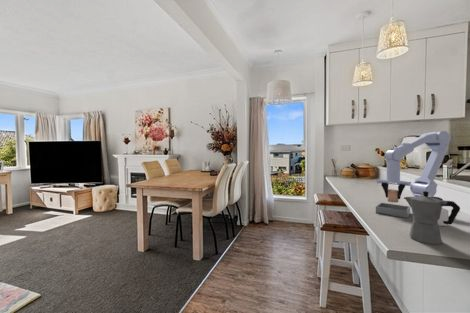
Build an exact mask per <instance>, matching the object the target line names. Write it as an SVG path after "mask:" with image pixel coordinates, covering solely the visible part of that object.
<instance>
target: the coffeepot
mask: <svg viewBox="0 0 470 313" xmlns="http://www.w3.org/2000/svg"><path fill="white" fill-rule="evenodd" d="M423 194H424V196H419V197H414V196H405V197H403V199H404V200H405V201H406V202H407V203H408V205H409V207H410V209H411V213H412V216H413V220H412V223H411V228H410V231H409V237H410V238H411V239H412V240H414V241H416V242H419V243H423V244H428V245H436V246H437V245H441V244H443V239H442V235H441V230H440V226H439V225H438V219H439V218H440V214H441V209H442V208H443V207H451V208H452V209H451V211H450V214H449V215H448V221H443V223H444V224H448V225H452V224H453V223H454V222H455V220H456V218H457V216H458V214H459V212H460V210H461V207H460V206H459V205H458V204H457V203H456V202H455V201H453V200H445V199H444V200H439V199H435V198H432V197H428V194H429V192H427V191H424V192H423ZM442 206H443V207H442Z"/></svg>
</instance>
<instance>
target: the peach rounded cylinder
mask: <svg viewBox="0 0 470 313" xmlns="http://www.w3.org/2000/svg"><path fill="white" fill-rule="evenodd" d="M387 202H389V203H399V199H398V189H392V188H391V189H389V188H388V198H387Z"/></svg>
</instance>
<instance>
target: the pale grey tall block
mask: <svg viewBox="0 0 470 313" xmlns="http://www.w3.org/2000/svg"><path fill="white" fill-rule="evenodd" d="M428 197H432V198H435V199H439V200H443V198H441V197H438V196H428ZM443 207H444V206H442V209H441V214H440V218H439V219H438V225H439V227H440V226H442V227H443V226H444V227H448V226H449V224H444V223H443V221H448V220H449V210H448V209H445V208H443Z"/></svg>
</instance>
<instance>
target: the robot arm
mask: <svg viewBox="0 0 470 313" xmlns="http://www.w3.org/2000/svg"><path fill="white" fill-rule="evenodd" d="M451 139H452V138H451V135H450V133H449V132H448V131H446V130H439V131H431V132H429V131H427V132H425V133H422V134H421V135H420V136H418V137H417V138H414V139H413V140H412V141H410V142H401V143H400V145H398V146H395V147H393V149H388V150H387V151H386V152H385V153H384V155H383V157H384V159H385V163H386V179H379V178H377V179H376V184H381V185H380V186H381V188H382V189H383V192H384V195H385V198H387V199H388V189H389V185H394V186H395V185H398V186H397V190H398V200H400V199H401V196H402V193H403V191H404V190H405V188H406V186H407V187H409V190H410V191H411V193H412V195H413V197H419V196H424V194H423V192H424V191H427V192H429V194H428V196H433V197H435V195H436V194H437V188H438V183H436V181H435V178H436V176H437V174H438V173H439V172H438V171H439V169H440V166H441V165H442V163H443V160H444V158H445V156H446V153H447V152H448V145H449V143H450V142H451ZM424 144H425V145H426V147H427V148H428V149H431V150H430V151H431V153H430V155H429V157H428V159H427V161H426V164H425V166H424V167H423V170H422V172H421V175H420V176H419V177H417V178H415V180H413V182H412V181H406V180H405V181H404V180H403V181H402V180H401V161H402V160H403V159H404V157H405V156H407V155H408V154H411V153H413V152H414V150H415V148H417V147H419V146H422V145H424Z"/></svg>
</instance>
